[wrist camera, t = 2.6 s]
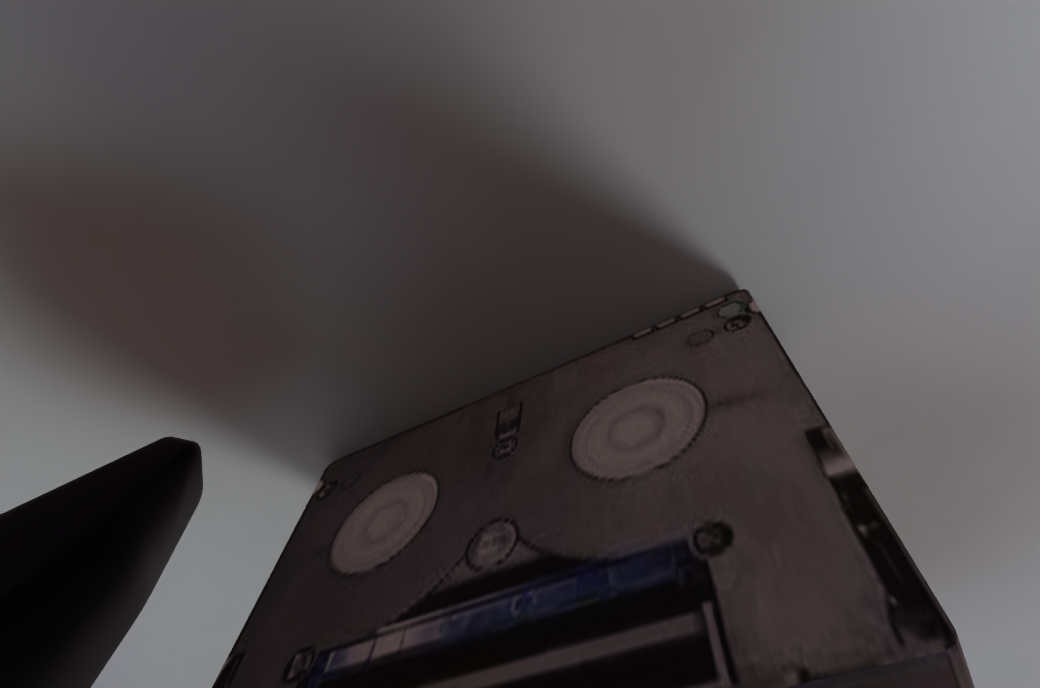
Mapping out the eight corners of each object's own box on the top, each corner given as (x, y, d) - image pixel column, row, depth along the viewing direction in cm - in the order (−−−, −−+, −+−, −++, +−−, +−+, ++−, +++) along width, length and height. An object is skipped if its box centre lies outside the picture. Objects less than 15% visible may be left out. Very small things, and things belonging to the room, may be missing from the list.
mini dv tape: (372, 516, 12) (230, 892, 7) (328, 464, 12) (136, 834, 7) (776, 362, 10) (1003, 759, 5) (745, 286, 9) (965, 646, 4)
